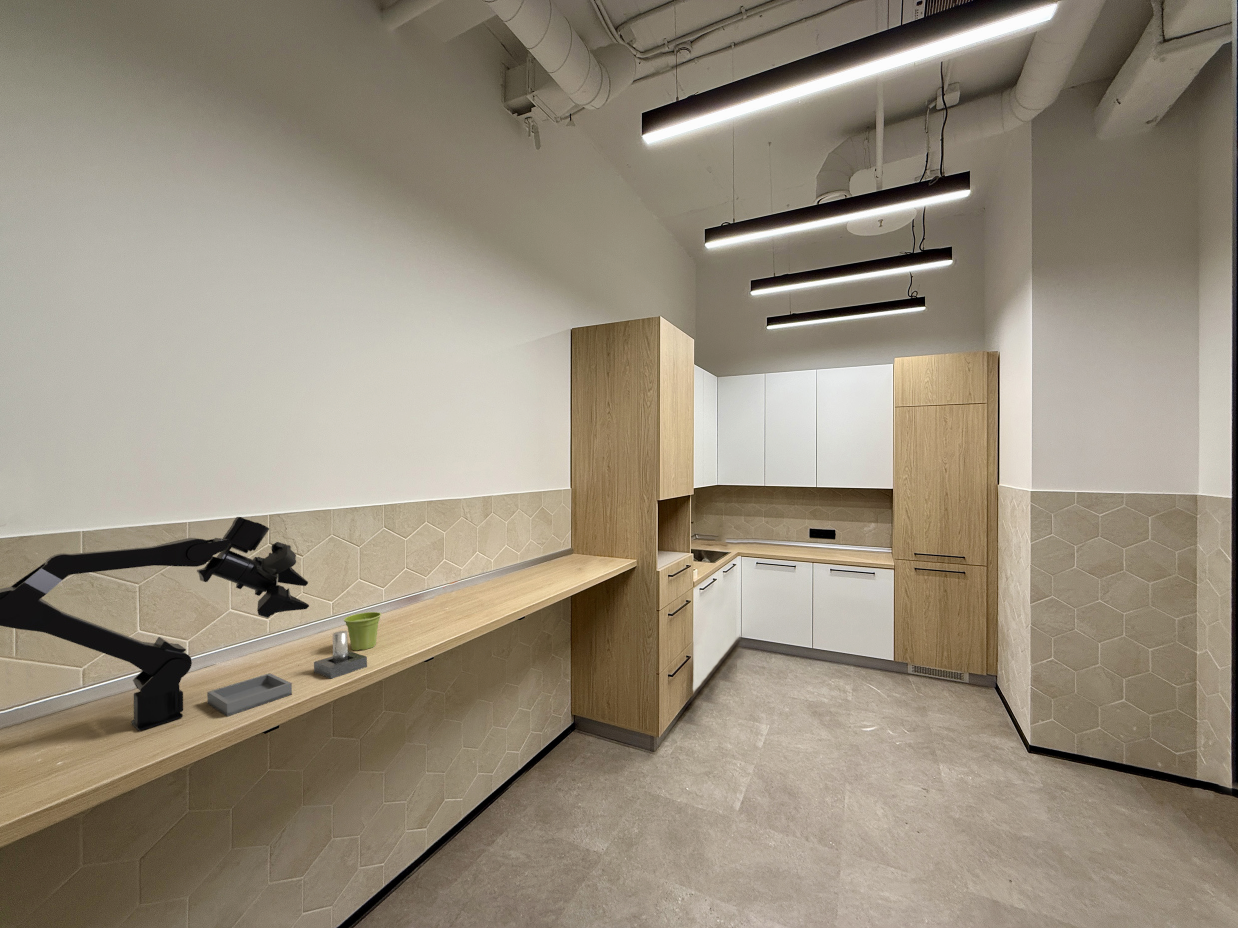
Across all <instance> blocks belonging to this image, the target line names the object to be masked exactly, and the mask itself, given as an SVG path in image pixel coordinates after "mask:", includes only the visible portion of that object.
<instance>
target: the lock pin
mask: <svg viewBox="0 0 1238 928" xmlns="http://www.w3.org/2000/svg"><path fill="white" fill-rule="evenodd" d="M348 647H349V646H348V631H347V630H340V631H335V632H333V633H332V656H333V663H334V664H337V663H340V662H343V661H346V660H348V651H349V650H348V649H349V648H348Z"/></svg>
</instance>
